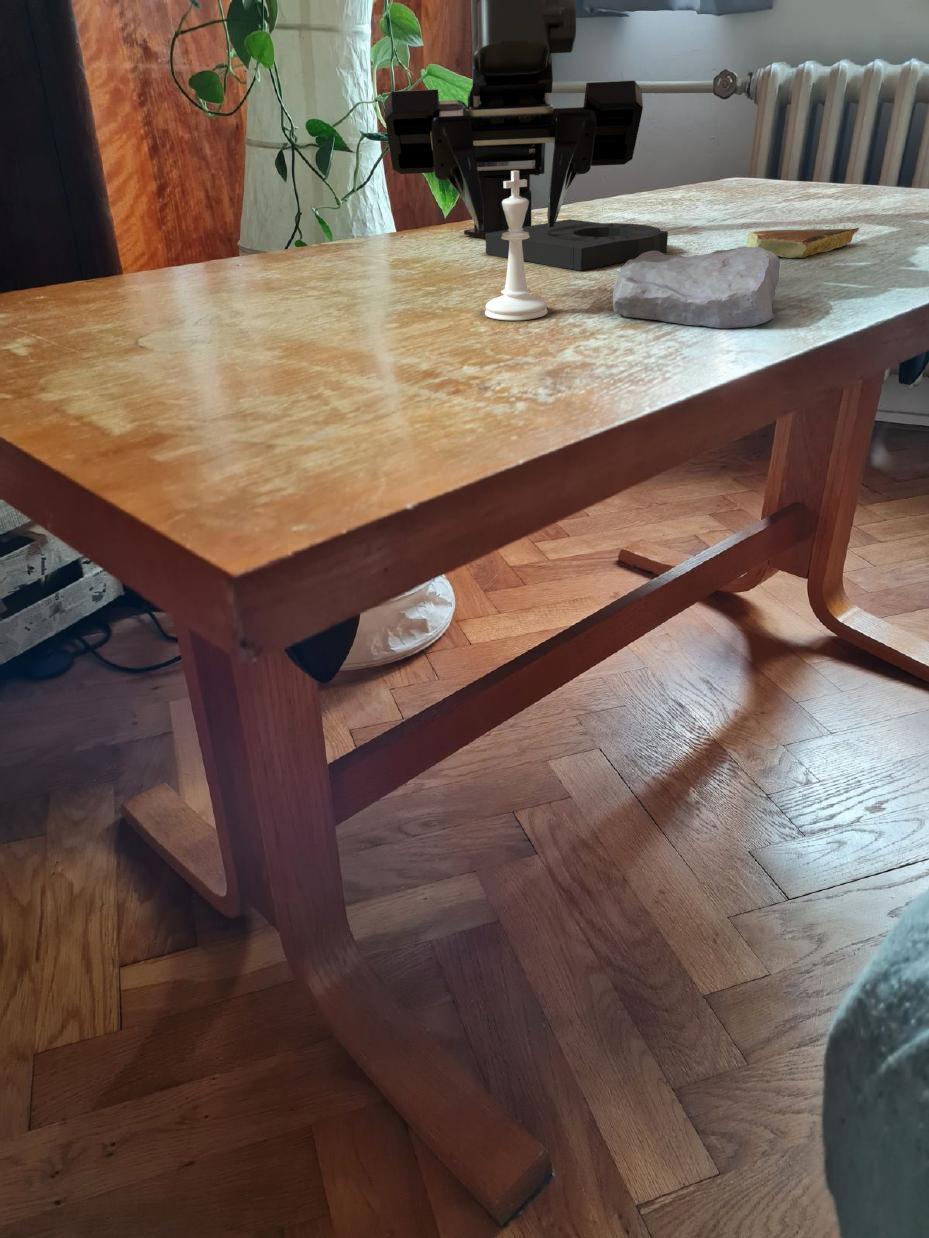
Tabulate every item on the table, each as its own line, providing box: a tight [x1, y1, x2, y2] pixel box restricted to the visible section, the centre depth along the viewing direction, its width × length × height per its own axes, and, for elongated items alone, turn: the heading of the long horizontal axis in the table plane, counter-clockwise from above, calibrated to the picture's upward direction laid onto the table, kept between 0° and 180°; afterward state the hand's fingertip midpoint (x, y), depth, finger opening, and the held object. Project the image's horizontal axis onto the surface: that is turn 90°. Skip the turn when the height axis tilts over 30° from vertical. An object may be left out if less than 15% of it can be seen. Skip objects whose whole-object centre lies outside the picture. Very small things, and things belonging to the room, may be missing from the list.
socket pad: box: [485, 218, 669, 272], centre depth 90 cm, size 15×14×2 cm
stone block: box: [612, 246, 781, 329], centre depth 67 cm, size 12×5×10 cm
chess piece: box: [484, 171, 549, 322], centre depth 67 cm, size 5×5×10 cm
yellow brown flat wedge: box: [745, 227, 860, 259], centre depth 86 cm, size 11×8×2 cm
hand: (516, 225), depth 65 cm, fingers open, 5 cm apart
